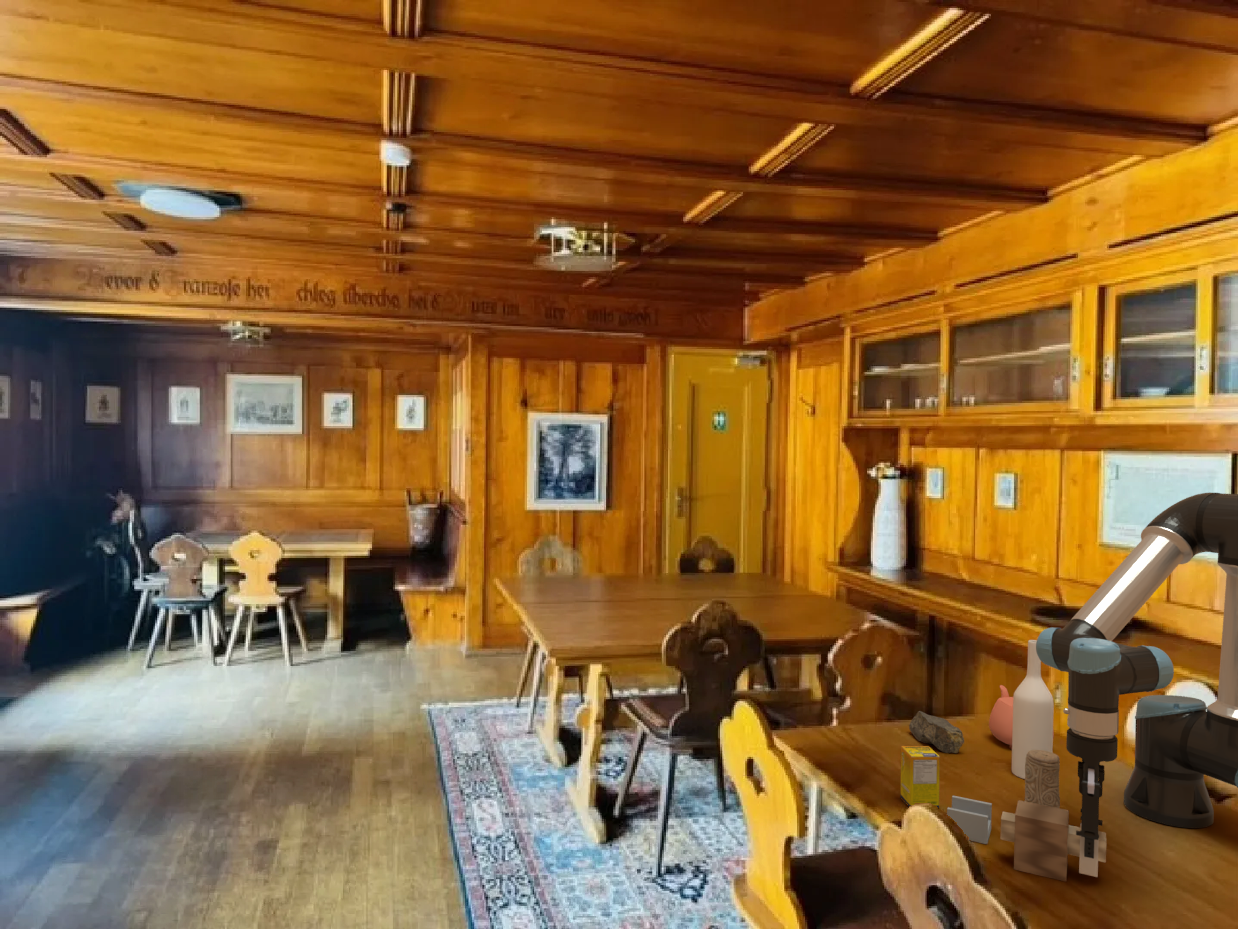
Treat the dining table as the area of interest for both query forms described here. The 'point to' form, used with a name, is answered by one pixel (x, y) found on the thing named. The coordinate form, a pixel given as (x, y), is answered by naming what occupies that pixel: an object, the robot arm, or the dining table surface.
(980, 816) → the cradle
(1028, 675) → the bottle
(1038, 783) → the carving
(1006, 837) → the axle bar
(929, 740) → the rock
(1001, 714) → the teapot
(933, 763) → the supplement box
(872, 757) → the dining table surface
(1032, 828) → the block
